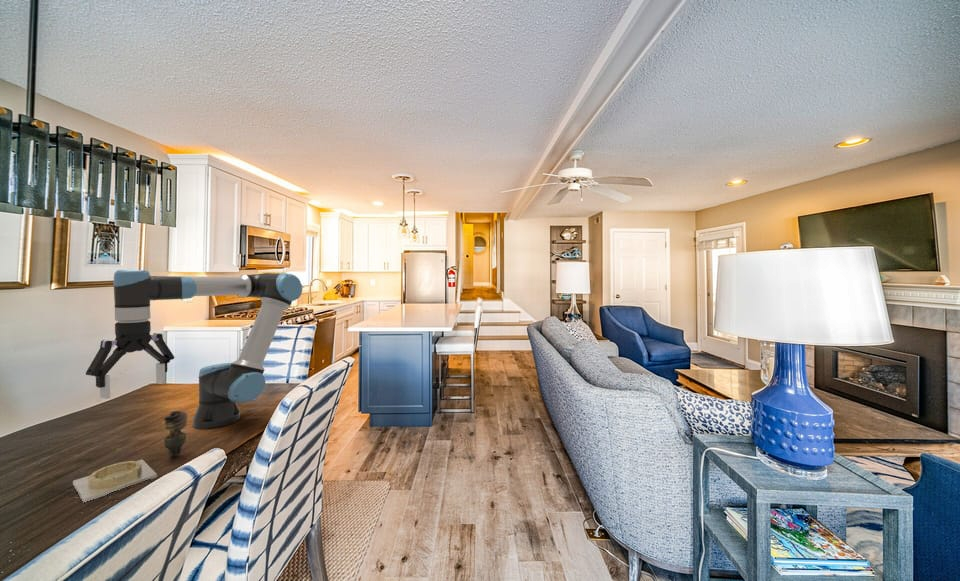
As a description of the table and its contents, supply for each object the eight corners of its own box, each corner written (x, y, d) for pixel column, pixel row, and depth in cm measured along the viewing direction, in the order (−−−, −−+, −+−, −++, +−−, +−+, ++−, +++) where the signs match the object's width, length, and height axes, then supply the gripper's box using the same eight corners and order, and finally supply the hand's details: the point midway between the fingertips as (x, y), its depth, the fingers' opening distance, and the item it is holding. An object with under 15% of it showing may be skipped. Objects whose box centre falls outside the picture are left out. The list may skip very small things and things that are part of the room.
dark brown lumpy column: (170, 453, 111) (171, 408, 111) (190, 451, 113) (191, 407, 113) (160, 462, 106) (160, 415, 106) (181, 460, 108) (181, 413, 107)
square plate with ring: (142, 462, 106) (142, 453, 106) (156, 477, 98) (156, 467, 98) (72, 484, 94) (72, 473, 94) (83, 503, 86) (83, 491, 86)
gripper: (170, 315, 115) (172, 377, 116) (65, 325, 91) (68, 403, 92) (187, 316, 113) (188, 379, 114) (84, 327, 89) (86, 406, 90)
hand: (134, 390), depth 103 cm, fingers open, 13 cm apart
